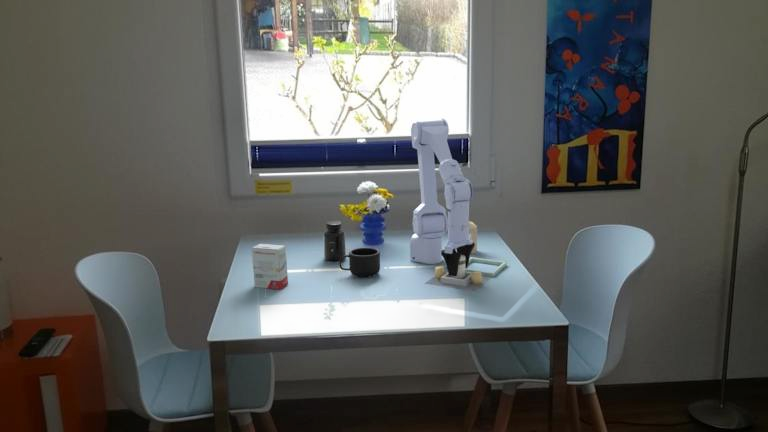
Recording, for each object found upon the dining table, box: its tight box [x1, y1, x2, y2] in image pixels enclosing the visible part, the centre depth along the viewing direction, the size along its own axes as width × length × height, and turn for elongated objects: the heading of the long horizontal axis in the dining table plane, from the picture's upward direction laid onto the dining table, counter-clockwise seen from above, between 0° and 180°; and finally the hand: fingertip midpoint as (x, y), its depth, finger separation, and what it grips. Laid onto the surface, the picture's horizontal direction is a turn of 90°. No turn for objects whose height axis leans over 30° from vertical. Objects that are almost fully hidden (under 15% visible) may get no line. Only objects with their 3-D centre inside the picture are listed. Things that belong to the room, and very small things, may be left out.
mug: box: [338, 247, 381, 279], centre depth 208 cm, size 12×9×7 cm
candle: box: [469, 220, 478, 255], centre depth 228 cm, size 6×6×10 cm
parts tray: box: [465, 256, 508, 278], centre depth 210 cm, size 12×12×2 cm
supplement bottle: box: [322, 220, 347, 263], centre depth 223 cm, size 7×7×12 cm
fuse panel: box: [425, 265, 491, 292], centre depth 199 cm, size 15×12×4 cm
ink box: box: [251, 243, 289, 290], centre depth 200 cm, size 9×5×12 cm, turn 71°
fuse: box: [451, 255, 466, 280], centre depth 199 cm, size 4×4×7 cm
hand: (458, 271), depth 199 cm, fingers open, 7 cm apart
